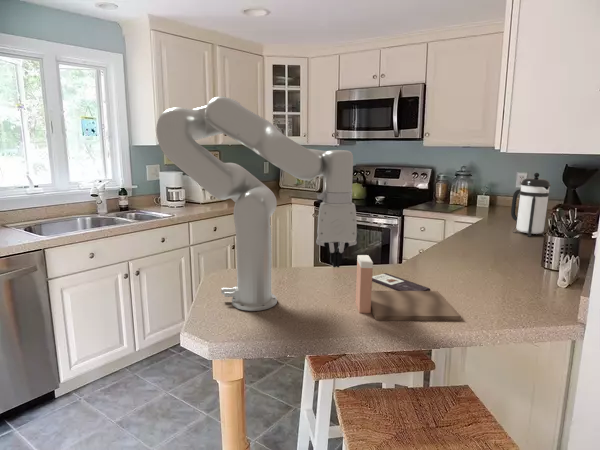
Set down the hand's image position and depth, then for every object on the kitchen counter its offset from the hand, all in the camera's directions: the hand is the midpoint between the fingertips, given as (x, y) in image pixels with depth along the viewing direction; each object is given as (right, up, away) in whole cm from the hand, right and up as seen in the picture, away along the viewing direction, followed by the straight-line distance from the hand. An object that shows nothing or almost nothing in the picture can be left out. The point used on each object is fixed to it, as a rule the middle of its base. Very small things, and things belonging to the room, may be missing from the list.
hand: (335, 265), depth 115 cm
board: (+21, -12, +4) cm, 24 cm away
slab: (+8, -12, +3) cm, 14 cm away
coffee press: (+102, +7, +96) cm, 141 cm away
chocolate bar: (+21, -9, +22) cm, 32 cm away
